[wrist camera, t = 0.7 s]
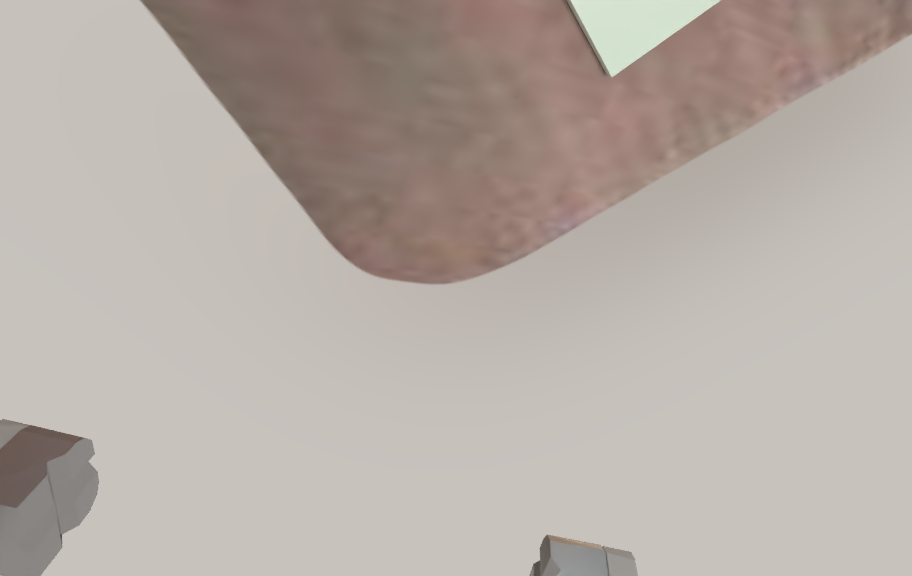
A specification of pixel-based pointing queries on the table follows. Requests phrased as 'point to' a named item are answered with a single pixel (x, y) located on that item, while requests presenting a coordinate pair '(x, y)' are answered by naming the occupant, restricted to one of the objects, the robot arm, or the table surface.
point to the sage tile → (632, 26)
